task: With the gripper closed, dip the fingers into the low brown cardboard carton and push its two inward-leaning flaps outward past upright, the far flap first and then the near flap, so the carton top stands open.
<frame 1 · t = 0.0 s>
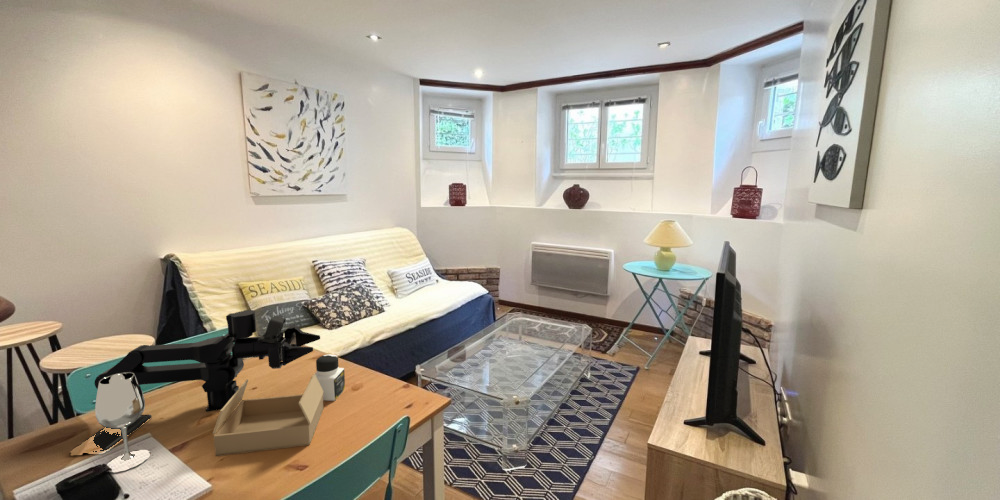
hand: (316, 343, 114), 17 cm above the table, tool horizontal, fingers open, 9 cm apart
medicine bottle: (328, 395, 117), on the table
flap near: (231, 404, 96), point 8 cm above the table, hinge at 70.0°
flap far: (312, 397, 100), point 8 cm above the table, hinge at 70.0°
phone: (113, 436, 96), on the table
wineglass: (128, 462, 87), on the table
carton: (274, 430, 99), on the table
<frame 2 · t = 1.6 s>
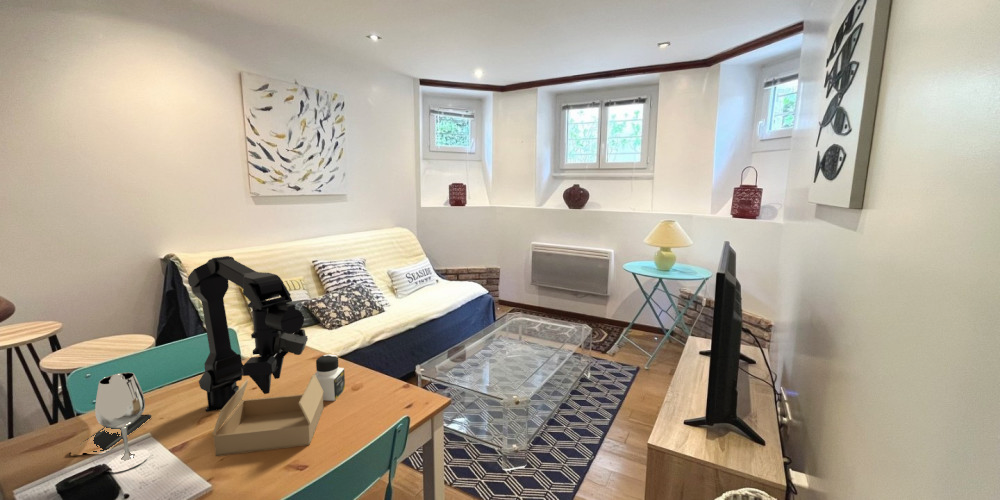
hand: (272, 385, 98), 12 cm above the table, tool pointing down, fingers open, 8 cm apart
nothing on the table moved.
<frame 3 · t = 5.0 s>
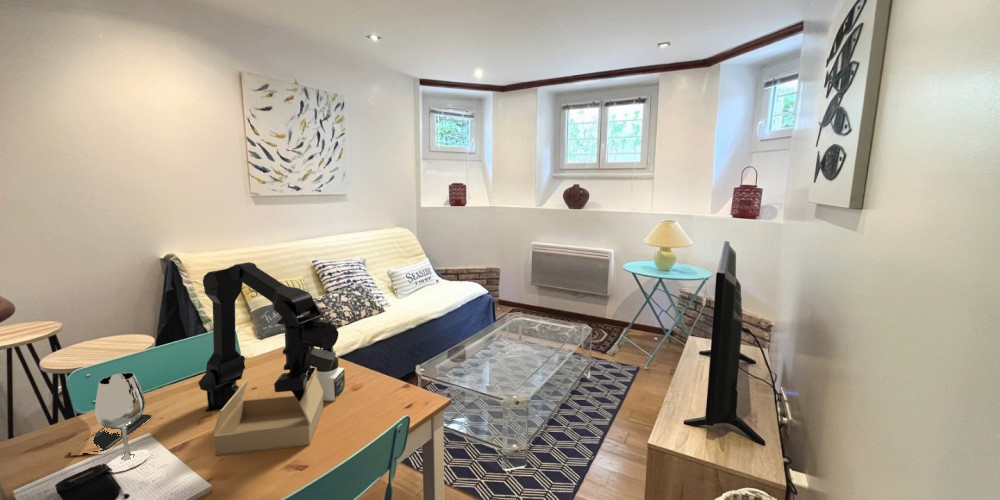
hand: (300, 400, 100), 8 cm above the table, tool pointing down, fingers closed, pressing on flap far
flap far: (312, 397, 100), point 8 cm above the table, hinge at 71.8°, touching gripper
everything else where it was.
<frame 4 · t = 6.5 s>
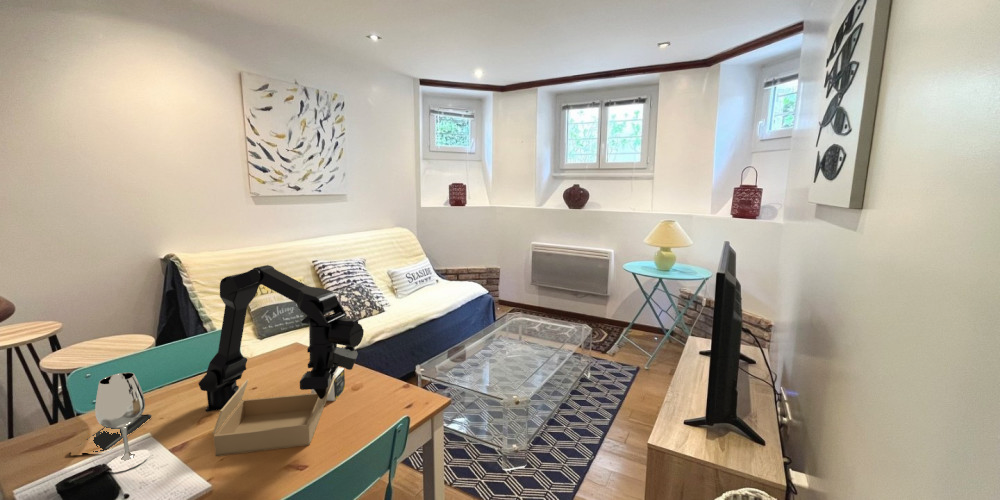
hand: (322, 398, 101), 8 cm above the table, tool pointing down, fingers closed, pressing on flap far
flap far: (323, 398, 101), point 8 cm above the table, hinge at 125.6°, touching gripper
everything else where it was.
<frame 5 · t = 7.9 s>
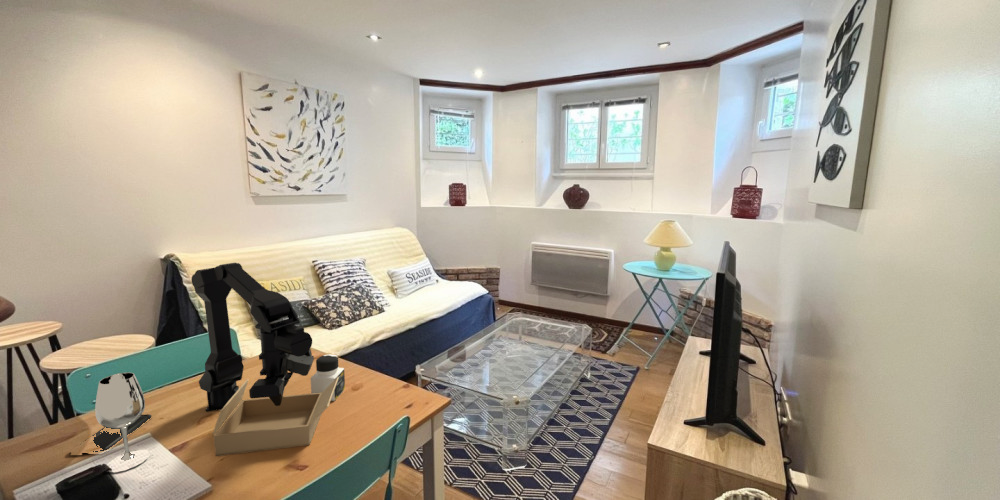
hand: (278, 405, 99), 7 cm above the table, tool pointing down, fingers closed
flap far: (325, 399, 101), point 7 cm above the table, hinge at 134.7°
everything else where it was.
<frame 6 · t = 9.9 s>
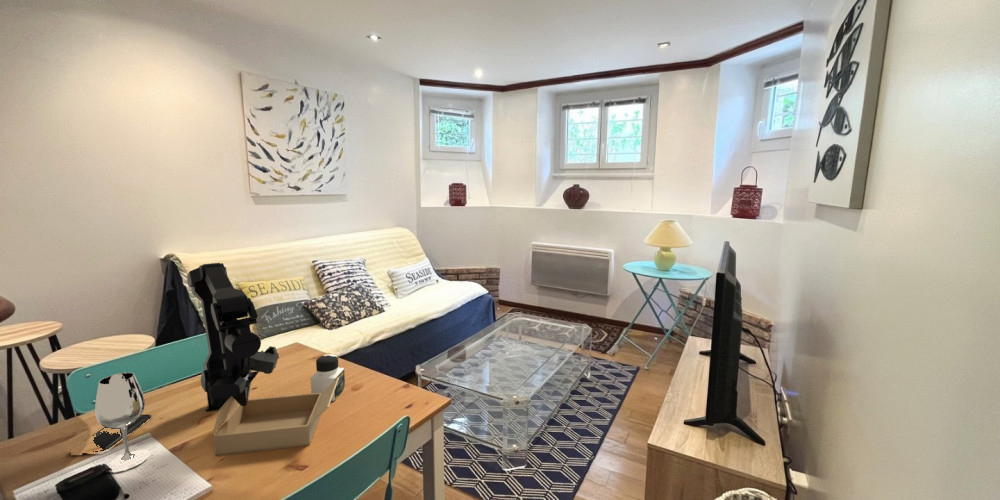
hand: (244, 405, 97), 8 cm above the table, tool pointing down, fingers closed, pressing on flap near
flap near: (231, 404, 96), point 8 cm above the table, hinge at 73.4°, touching gripper
flap far: (325, 399, 101), point 7 cm above the table, hinge at 135.7°
everything else where it was.
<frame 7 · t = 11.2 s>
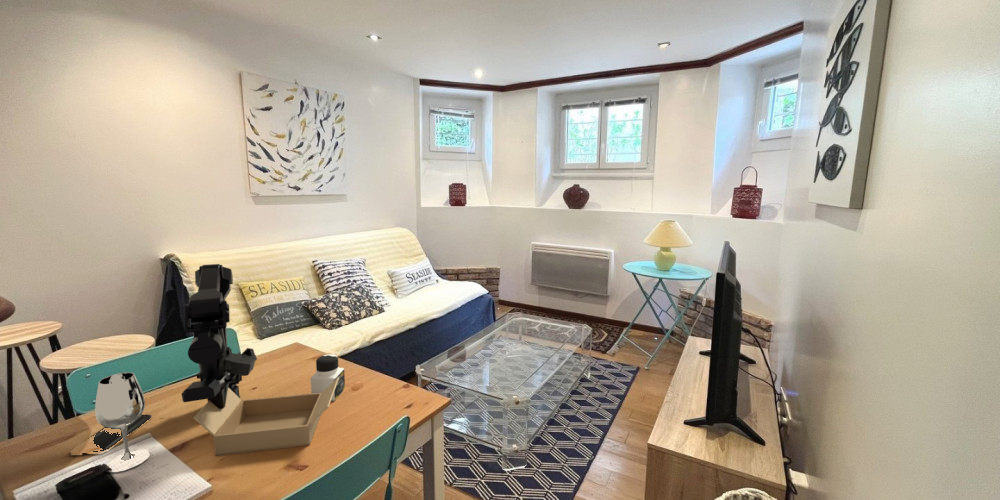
hand: (221, 408, 96), 7 cm above the table, tool pointing down, fingers closed, pressing on flap near
flap near: (219, 408, 95), point 8 cm above the table, hinge at 125.6°, touching gripper
everything else where it was.
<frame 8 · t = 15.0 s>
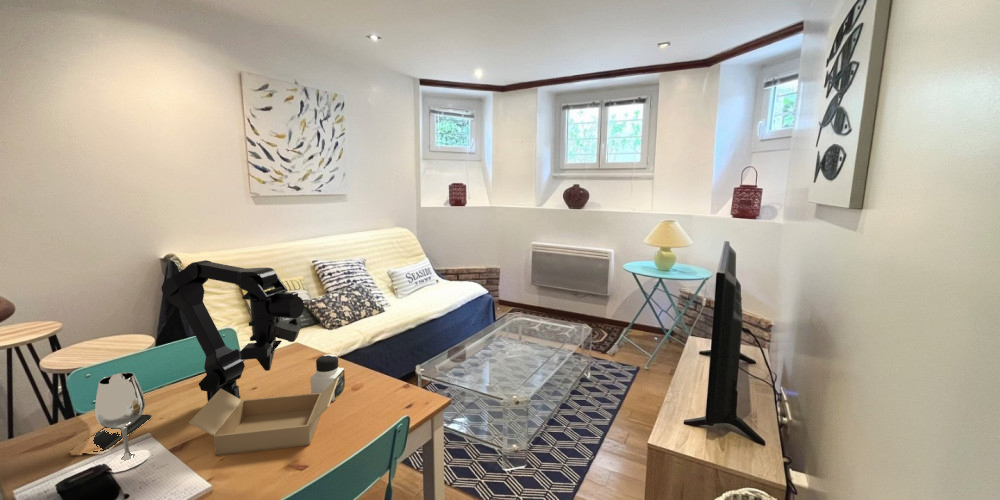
hand: (267, 370, 106), 12 cm above the table, tool pointing down, fingers closed
flap near: (217, 410, 95), point 7 cm above the table, hinge at 139.8°
everything else where it was.
at the end: flap far at +136° (first picture: +70°); flap near at +140° (first picture: +70°) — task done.
